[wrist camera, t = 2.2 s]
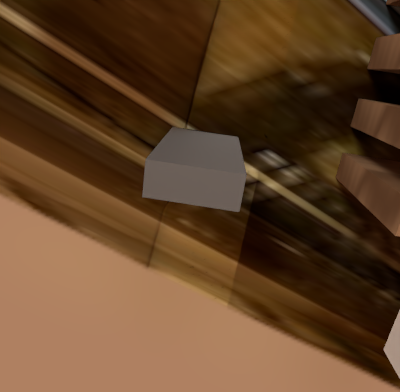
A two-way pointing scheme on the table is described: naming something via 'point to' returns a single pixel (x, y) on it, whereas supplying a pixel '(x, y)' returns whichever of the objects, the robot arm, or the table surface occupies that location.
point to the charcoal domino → (196, 170)
